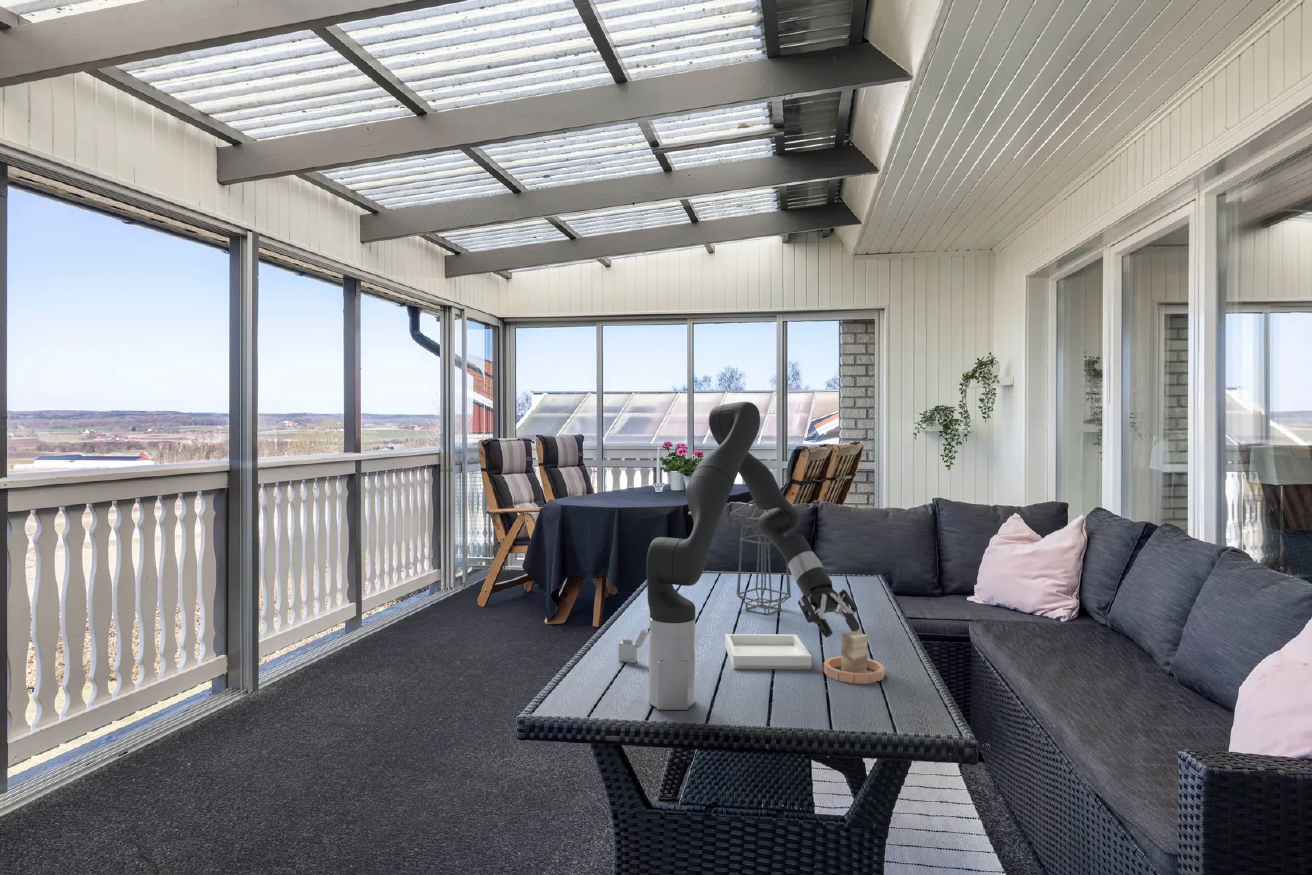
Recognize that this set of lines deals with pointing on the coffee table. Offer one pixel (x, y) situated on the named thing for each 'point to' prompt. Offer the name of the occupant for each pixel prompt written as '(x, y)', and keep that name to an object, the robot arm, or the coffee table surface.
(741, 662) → the tray
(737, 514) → the geometric lantern
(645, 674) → the coffee table surface
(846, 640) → the birch block
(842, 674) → the orange ring
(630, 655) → the lighter
